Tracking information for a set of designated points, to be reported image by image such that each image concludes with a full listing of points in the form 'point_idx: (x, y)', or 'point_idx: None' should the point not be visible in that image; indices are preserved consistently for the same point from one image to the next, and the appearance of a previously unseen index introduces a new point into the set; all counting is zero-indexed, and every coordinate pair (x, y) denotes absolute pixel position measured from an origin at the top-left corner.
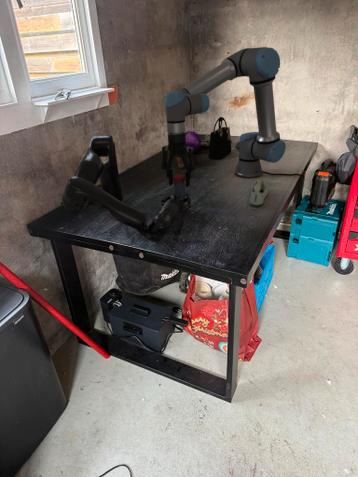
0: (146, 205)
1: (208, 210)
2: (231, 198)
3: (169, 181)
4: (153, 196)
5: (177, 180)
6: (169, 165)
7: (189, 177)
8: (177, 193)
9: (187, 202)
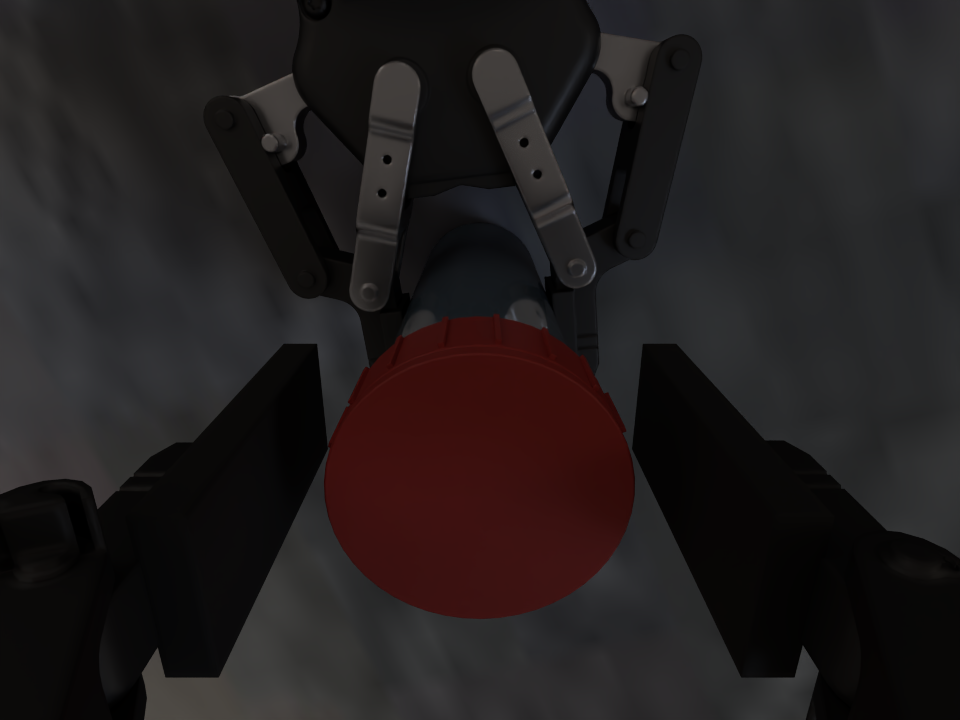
0: (905, 271)
1: (193, 341)
2: None
3: (689, 374)
4: (883, 494)
5: (459, 335)
6: (910, 714)
7: (160, 469)
8: (485, 270)
9: (270, 134)
